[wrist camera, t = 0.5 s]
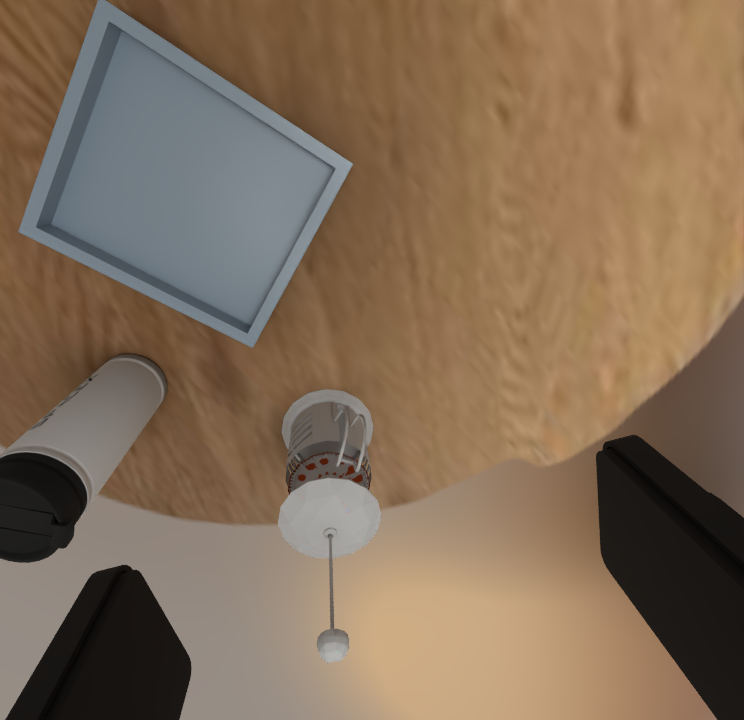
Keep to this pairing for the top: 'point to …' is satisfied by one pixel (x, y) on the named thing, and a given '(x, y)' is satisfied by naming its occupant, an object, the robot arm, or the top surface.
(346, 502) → the french press
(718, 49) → the top surface
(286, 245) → the tray
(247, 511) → the top surface
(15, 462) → the travel mug
